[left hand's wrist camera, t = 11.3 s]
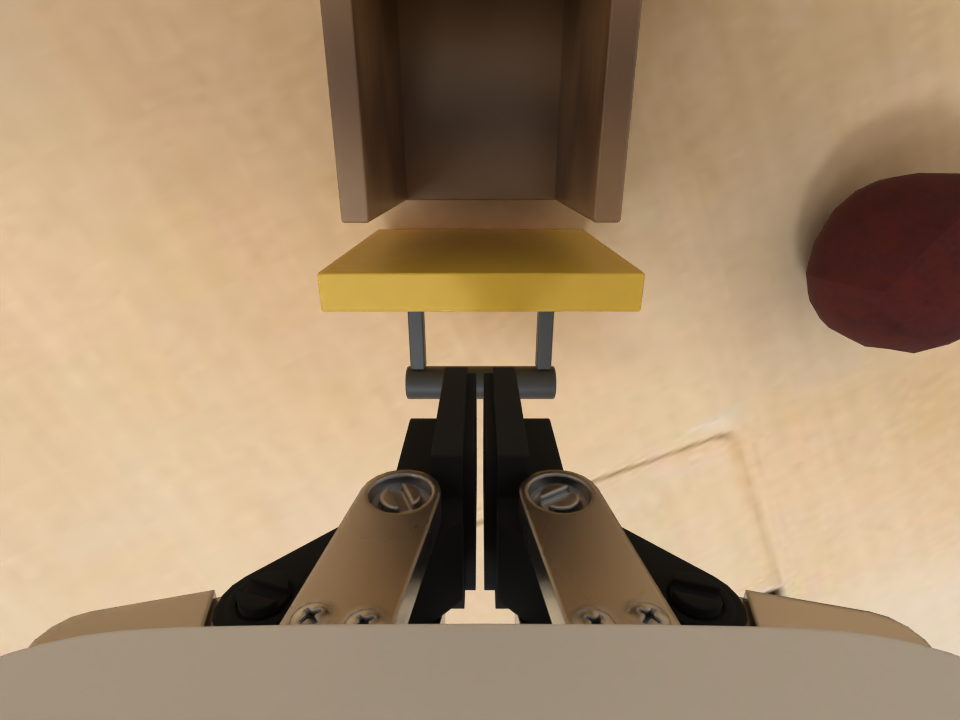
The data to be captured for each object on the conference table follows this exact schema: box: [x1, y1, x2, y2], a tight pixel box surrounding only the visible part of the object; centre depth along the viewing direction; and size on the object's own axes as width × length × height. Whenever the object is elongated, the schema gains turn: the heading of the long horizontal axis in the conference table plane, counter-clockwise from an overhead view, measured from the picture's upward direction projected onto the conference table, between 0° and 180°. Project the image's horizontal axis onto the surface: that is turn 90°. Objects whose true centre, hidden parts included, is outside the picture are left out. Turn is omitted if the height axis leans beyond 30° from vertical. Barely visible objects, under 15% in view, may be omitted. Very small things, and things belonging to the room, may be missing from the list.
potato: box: [806, 173, 960, 353], centre depth 22 cm, size 7×8×7 cm
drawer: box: [318, 0, 645, 399], centre depth 17 cm, size 25×10×10 cm, turn 0°
